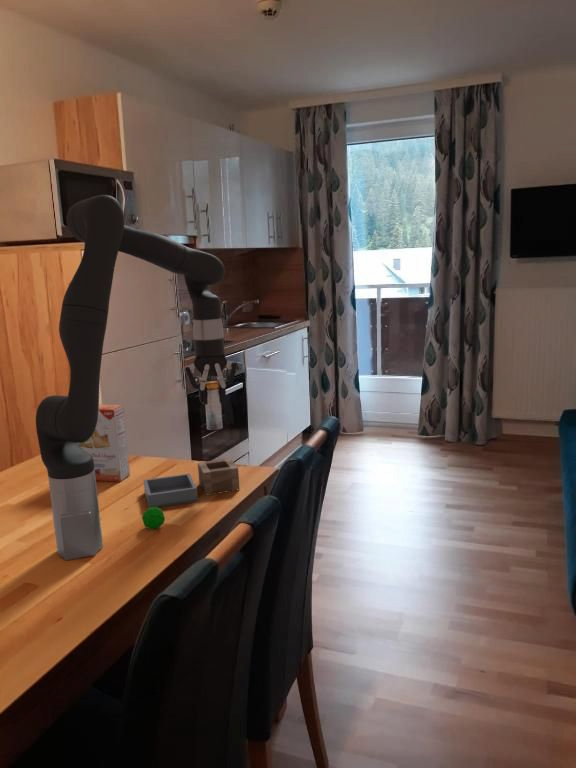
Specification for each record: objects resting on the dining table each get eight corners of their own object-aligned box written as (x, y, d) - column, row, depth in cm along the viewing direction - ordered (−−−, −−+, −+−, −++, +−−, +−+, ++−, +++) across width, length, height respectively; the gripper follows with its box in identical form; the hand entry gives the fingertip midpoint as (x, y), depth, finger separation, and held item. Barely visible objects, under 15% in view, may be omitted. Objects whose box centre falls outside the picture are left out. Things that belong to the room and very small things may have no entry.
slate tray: (197, 501, 161) (196, 488, 160) (149, 508, 157) (147, 495, 156) (190, 485, 172) (189, 473, 171) (144, 492, 168) (143, 479, 168)
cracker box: (75, 480, 180) (66, 408, 176) (86, 473, 186) (78, 403, 182) (120, 482, 177) (113, 408, 173) (130, 475, 183) (123, 403, 179)
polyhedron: (141, 526, 147) (139, 506, 146) (163, 522, 149) (161, 502, 148) (145, 534, 143) (143, 514, 142) (167, 530, 144) (165, 510, 144)
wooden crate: (239, 490, 167) (238, 468, 166) (205, 495, 165) (203, 472, 163) (232, 479, 176) (230, 458, 174) (199, 483, 173) (197, 462, 172)
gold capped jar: (223, 428, 166) (220, 383, 163) (208, 430, 164) (205, 384, 162) (220, 425, 169) (217, 380, 167) (205, 427, 168) (202, 382, 166)
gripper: (182, 340, 157) (187, 409, 160) (239, 336, 161) (243, 403, 164) (178, 337, 164) (183, 403, 167) (232, 333, 168) (236, 397, 171)
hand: (213, 402), depth 166 cm, fingers closed on gold capped jar, 4 cm apart
